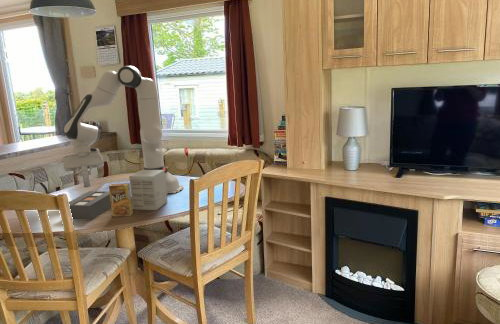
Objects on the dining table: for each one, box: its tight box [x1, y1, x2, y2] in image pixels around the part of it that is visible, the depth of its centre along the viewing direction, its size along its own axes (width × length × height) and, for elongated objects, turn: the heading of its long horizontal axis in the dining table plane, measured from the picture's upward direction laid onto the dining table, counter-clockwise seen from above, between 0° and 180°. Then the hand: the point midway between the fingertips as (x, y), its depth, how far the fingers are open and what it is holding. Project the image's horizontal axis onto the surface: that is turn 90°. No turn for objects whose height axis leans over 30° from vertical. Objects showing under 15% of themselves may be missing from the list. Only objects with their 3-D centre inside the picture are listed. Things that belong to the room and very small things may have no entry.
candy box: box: [108, 182, 134, 217], centre depth 184 cm, size 9×4×15 cm, turn 89°
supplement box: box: [128, 169, 168, 211], centre depth 195 cm, size 13×13×18 cm
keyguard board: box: [68, 190, 111, 221], centre depth 192 cm, size 14×22×7 cm, turn 171°
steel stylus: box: [81, 164, 91, 188], centre depth 208 cm, size 3×3×12 cm
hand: (85, 174), depth 207 cm, fingers closed on steel stylus, 3 cm apart
